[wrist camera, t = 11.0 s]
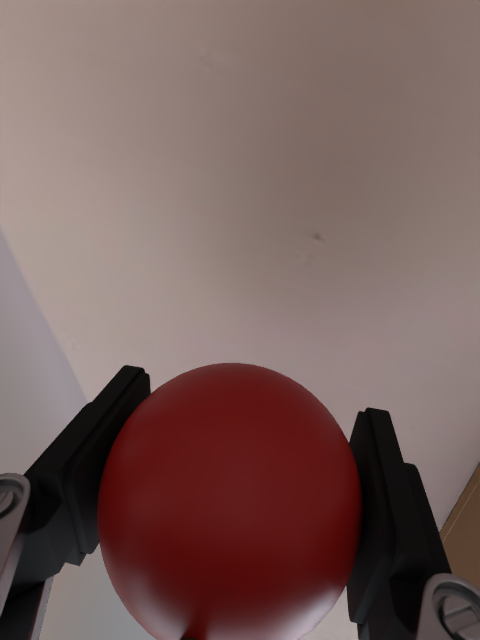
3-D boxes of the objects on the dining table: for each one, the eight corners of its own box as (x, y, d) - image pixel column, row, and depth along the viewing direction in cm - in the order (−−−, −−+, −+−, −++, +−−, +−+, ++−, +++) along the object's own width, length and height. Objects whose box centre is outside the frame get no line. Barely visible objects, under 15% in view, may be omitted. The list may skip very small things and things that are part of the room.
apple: (158, 307, 10) (-85, 557, 4) (370, 339, 9) (486, 717, 3) (164, 454, 13) (28, 734, 7) (328, 488, 12) (346, 844, 6)
